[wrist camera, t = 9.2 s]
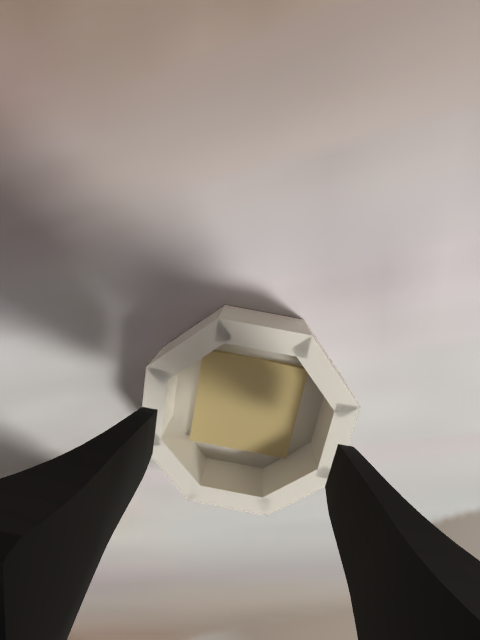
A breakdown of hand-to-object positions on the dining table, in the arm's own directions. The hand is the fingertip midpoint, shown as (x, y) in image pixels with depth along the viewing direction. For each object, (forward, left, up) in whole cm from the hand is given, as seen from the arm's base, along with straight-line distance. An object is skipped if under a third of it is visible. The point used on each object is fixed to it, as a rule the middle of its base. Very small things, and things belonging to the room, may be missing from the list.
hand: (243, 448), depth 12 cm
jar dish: (0, 0, -4) cm, 4 cm away
